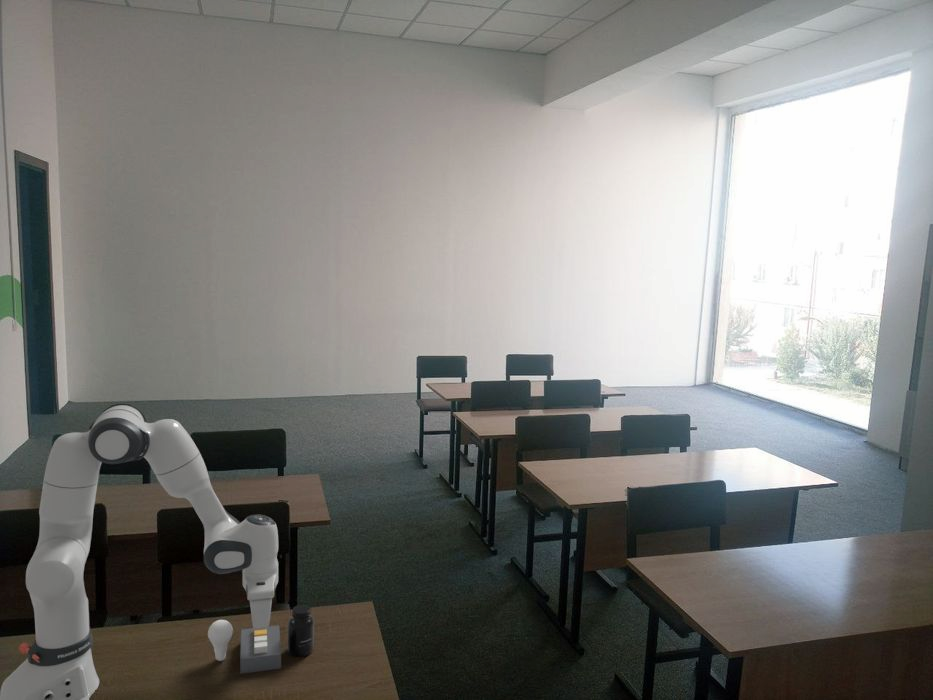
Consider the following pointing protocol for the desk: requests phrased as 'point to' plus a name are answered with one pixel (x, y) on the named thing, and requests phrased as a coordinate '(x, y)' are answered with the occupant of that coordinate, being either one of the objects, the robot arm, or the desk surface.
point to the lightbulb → (220, 637)
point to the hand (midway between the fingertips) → (260, 626)
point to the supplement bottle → (300, 631)
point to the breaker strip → (260, 658)
